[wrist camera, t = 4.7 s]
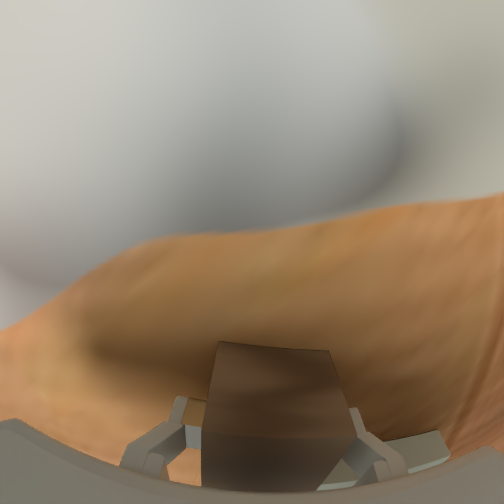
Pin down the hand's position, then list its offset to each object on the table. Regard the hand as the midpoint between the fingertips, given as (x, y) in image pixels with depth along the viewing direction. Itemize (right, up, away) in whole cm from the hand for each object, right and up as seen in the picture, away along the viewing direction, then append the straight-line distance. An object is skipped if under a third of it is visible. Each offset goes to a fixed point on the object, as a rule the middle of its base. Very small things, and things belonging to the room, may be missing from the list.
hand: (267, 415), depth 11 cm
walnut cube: (0, +1, +2) cm, 2 cm away
